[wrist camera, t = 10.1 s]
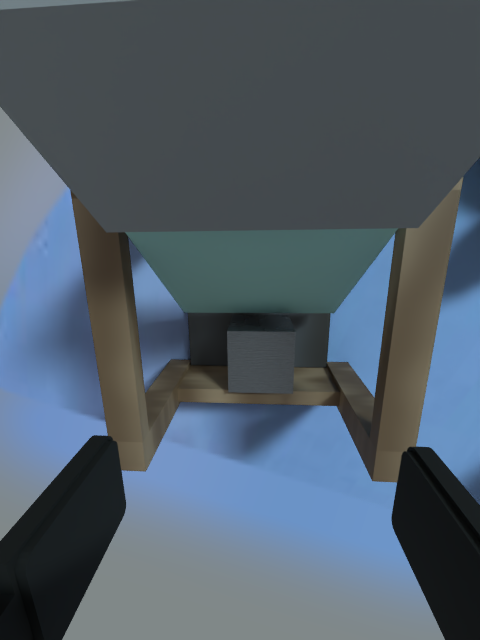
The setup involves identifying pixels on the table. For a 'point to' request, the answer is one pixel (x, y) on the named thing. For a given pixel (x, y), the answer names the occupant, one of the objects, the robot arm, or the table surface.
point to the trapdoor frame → (310, 350)
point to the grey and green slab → (249, 131)
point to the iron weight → (261, 354)
